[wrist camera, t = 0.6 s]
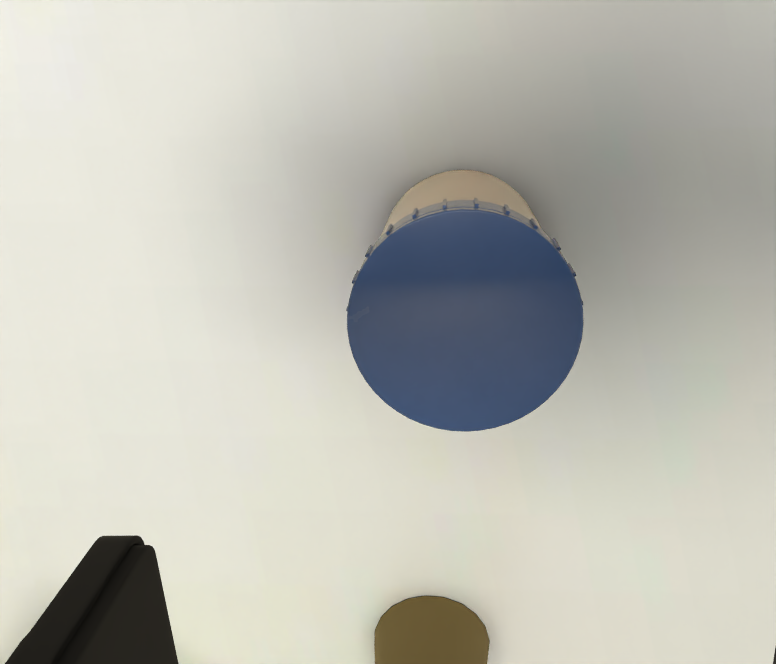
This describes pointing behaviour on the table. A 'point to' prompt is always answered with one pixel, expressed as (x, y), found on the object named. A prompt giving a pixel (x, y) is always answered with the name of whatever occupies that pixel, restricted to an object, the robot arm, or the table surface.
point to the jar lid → (465, 316)
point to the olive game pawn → (430, 633)
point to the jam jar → (459, 193)
